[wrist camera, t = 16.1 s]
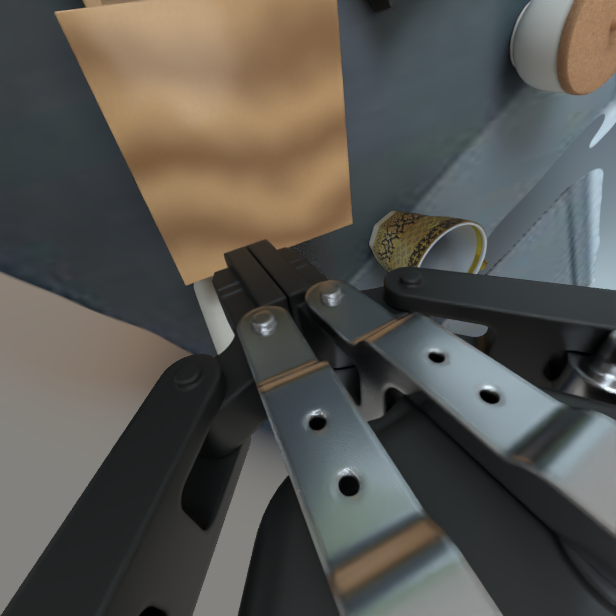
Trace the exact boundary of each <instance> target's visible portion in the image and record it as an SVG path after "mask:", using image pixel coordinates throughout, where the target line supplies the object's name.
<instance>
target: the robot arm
mask: <svg viewBox="0 0 616 616" xmlns="http://www.w3.org/2000/svg"><path fill="white" fill-rule="evenodd" d="M224 258H225V261H226V264H227V267H228V268H225V269H222V270H219V271H217V272H214V276H213V280H212V283H213V286H214V288H215V291H216V293H217V296H218V299H219V301H220V304H221V306H222V309H223V312H224V314H225V317H226V319H227V321H228V323H229V325H230V327H231V329H232V331H233V333H234V335H235V336H234V338H233V340H232V342H231V343H230V345H229V346H228V347H227V348H226V349H225V350H224V351H223V352H221V353H220V354H219V355H217V356H216V357H215V358H213V357H212V356H209V355H204V354H196V355H191V356H188V357H185V358H182V359H180V360H178V361H177V362H175V363H174V364H172V365H171V366H170V367H168V368H167V369H166V370H165V371H164V373H163V374H162V375H161V377H160V378H159V380H158V381H157V383H156V384H155V386H154V387H153V389H152V390H151V392H150V393H149V395H148V396H147V398H146V399H145V401H144V402H143V404H142V405H141V407H140V408H139V410H138V411H137V413H136V414H135V415H134V417H133V419H132V420H131V422H130V423H129V424H128V426H127V427H126V429H125V431H124V432H123V434H122V435H121V436H120V438H119V440H118V441H117V442H116V444H115V445H114V447H113V448H112V450H111V451H110V453H109V455H108V456H107V457H106V459H105V460H104V462H103V463H102V465H101V466H100V468H99V469H98V471H97V472H96V474H95V475H94V477H93V478H92V480H91V481H90V483H89V484H88V486H87V487H86V489H85V490H84V492H83V493H82V495H81V496H80V498H79V499H78V501H77V502H76V504H75V505H74V507H73V508H72V510H71V511H70V513H69V514H68V516H67V517H66V519H65V520H64V522H63V523H62V525H61V526H60V528H59V529H58V531H57V532H56V534H55V535H54V537H53V538H52V540H51V541H50V543H49V544H48V546H47V547H46V549H45V550H44V552H43V553H42V555H41V556H40V558H39V559H38V561H37V562H36V564H35V565H34V567H33V568H32V570H31V571H30V572H29V574H28V576H27V577H26V578H25V580H24V582H23V583H22V584H21V586H20V587H19V589H18V591H17V592H16V594H15V595H14V596H13V598H12V599H11V601H10V602H9V604H8V606H7V607H6V608H5V610H4V611H3V613H2V614H1V616H192V615H193V612H194V609H195V606H196V603H197V600H198V597H199V594H200V591H201V588H202V585H203V582H204V580H205V576H206V573H207V570H208V568H209V565H210V562H211V559H212V556H213V552H214V550H215V547H216V544H217V541H218V538H219V535H220V532H221V529H222V526H223V523H224V520H225V517H226V514H227V511H228V508H229V505H230V502H231V499H232V497H233V493H234V490H235V487H236V485H237V482H238V479H239V476H240V472H241V470H242V467H243V464H244V461H245V458H246V455H247V452H248V449H249V446H250V442H251V434H253V433H254V432H255V431H256V430H257V429H258V428H259V427H260V426H261V425H262V424H263V423H264V422H265V421H266V420H267V419H269V422H270V424H271V427H272V430H273V432H274V435H275V438H276V441H277V444H278V446H279V449H280V452H281V454H282V457H283V460H284V463H285V466H286V468H287V471H288V474H289V475H288V476H287V478H286V479H285V480H284V481H283V482H282V484H281V485H280V486H279V487H278V489H277V491H276V492H275V494H274V495H273V497H272V499H271V500H270V502H269V504H268V506H267V508H266V510H265V513H264V515H263V517H262V520H261V523H260V526H259V528H258V531H257V535H256V539H255V543H254V547H253V551H252V556H251V560H250V564H249V569H248V573H247V578H246V582H245V586H244V591H243V595H242V599H241V603H240V608H239V612H238V616H616V290H608V289H599V288H591V287H583V286H574V285H566V284H557V283H549V282H540V281H532V280H523V279H514V278H506V277H497V276H489V275H480V274H472V273H463V272H455V271H446V270H438V269H429V268H421V267H400V268H397V269H394V270H392V271H390V272H389V273H388V274H387V275H386V276H385V279H384V287H379V288H374V289H368V290H362V291H359V290H358V289H356V288H355V287H354V286H352V285H351V284H349V283H347V282H344V281H339V280H328V279H327V278H326V277H325V276H324V275H322V274H321V273H320V272H319V271H318V270H317V269H316V268H315V267H314V266H313V265H311V264H310V263H309V262H308V261H307V260H306V259H304V257H303V256H301V255H300V254H299V253H298V252H297V251H295V250H292V249H289V248H286V247H284V248H281V249H278V250H277V249H276V248H275V247H274V246H273V245H272V244H271V243H270V242H269V241H268V240H267V239H264V240H261V241H258V242H255V243H252V244H249V245H246V246H243V247H241V248H238V249H235V250H232V251H229V252H226V253H224ZM433 316H435V317H442V318H447V319H453V320H459V321H464V322H470V323H476V324H481V325H485V326H487V327H488V330H487V332H486V333H485V334H484V335H483V336H480V337H470V336H465V335H459V334H454V333H452V332H450V331H449V330H447V329H445V328H444V327H442V326H441V325H439V324H438V323H436V322H435V321H433V320H432V319H433Z"/></svg>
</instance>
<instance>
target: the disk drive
mask: <svg viewBox="0 0 616 616" xmlns="http://www.w3.org/2000/svg"><path fill="white" fill-rule="evenodd" d="M370 1H371V4H372V6H373V8H374V11H375V13H377V14H378V13H381V12H384V11H388V10H391V9H394V8H395V6H396V5H397V4H398V3H399V2H400V1H401V0H370Z"/></svg>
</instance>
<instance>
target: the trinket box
mask: <svg viewBox="0 0 616 616" xmlns="http://www.w3.org/2000/svg"><path fill="white" fill-rule="evenodd" d="M510 59H511V62H512V64H513V66H514V67H515V68H516V70H517V72H518V74H519V76H520V78H521V79H522V80H523V81H524V82H525V83H526V84H528V85H529V86H531V87H533V88H535V89H538V90H541V91H546V92H551V93H567V94H571V95H586V94H588V93H591V92H593V91H594V90H596V89H598V88H599V87H601V86H602V85H603V84H604V83H605V82H606V81H607V80H608V79H609V78H610V77H611V76H612V75H613V74H614V73H615V72H616V0H531V1H530V2H529V3H528V4H527V5H526V6H525V8H524V9H523V10H522V12H521V14H520V15H519V17H518V19H517V21H516V24H515V26H514V29H513V33H512V36H511V42H510Z"/></svg>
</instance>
